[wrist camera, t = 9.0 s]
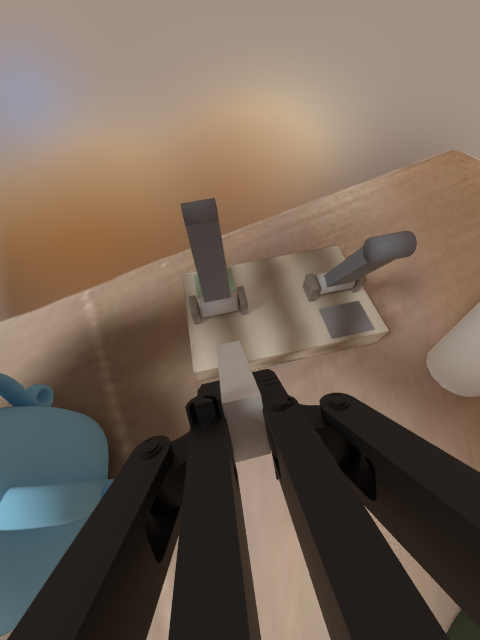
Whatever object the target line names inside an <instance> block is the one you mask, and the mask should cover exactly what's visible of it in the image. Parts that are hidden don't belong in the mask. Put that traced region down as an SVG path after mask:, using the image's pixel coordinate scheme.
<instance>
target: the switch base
mask: <svg viewBox="0 0 480 640" xmlns="http://www.w3.org/2000/svg"><path fill="white" fill-rule="evenodd" d="M344 260H345V257H344V255H343V254H342V252H341V250H340V249H339V247H338V246H332V247H327V248H322V249H316V250H311V251H305V252H300V253H294V254H289V255H284V256H278V257H273V258H267V259H262V260H256V261H251V262H246V263H240V264H235V265H229V266H226V269H227V275H228V281H229V288H230V291H233V290H234V293H235V297H236V302H237V308H238V311H234V312H229V313H224V314H218V315H213V316H208V317H203V315H202V311H201V306H200V300H199V297H202V296H203V295H202V290H201V286H200V282H199V278H198V274H197V272H191V273H186V274H182V276H183V284H184V293H185V302H186V311H187V320H188V328H189V337H190V346H191V355H192V364H193V372H194V374H195V376H196V377H197V379H198V381H202V380H207V379H211V378H216V377H219V369H218V359H217V349H216V345H221V344H225V343H230V342H235V341H240V344H241V346H242V349H243V351H244V354H245V356H246V359H247V361H248V364H249V366H250V369H251V370H253V369H257V368H262V367H266V366H271V365H276V364H280V363H285V362H290V361H294V360H299V359H303V358H308V357H313V356H317V355H322V354H326V353H331V352H336V351H340V350H345V349H350V348H354V347H359V346H363V345H368V344H373V343H377V342H378V341H379V340H380V339H381V338H382V337H383V336H384V335H385V334H386V333H387V332H388V331H389V330H388V328H387V327H386V325H385V323H384V322H383V320H382V318H381V317H380V315H379V313H378V312H377V310H376V308H375V307H374V305H373V303H372V302H371V300H370V298H369V297H368V295H367V293H366V292H365V290H364V288H363V287H362V286H363V284H364V282H365V281H366V277H365V276H363V277H361V278H359V279H357V280H355V285H354V287H353V288H350V289H345V290H340V291H334V292H329V293H324V294H318V292H319V290H320V287H319V285H318V283H317V281H316V279H315V277H314V276H315V275H316V274H321V273H327V272H329V271H331V270H332V269H333V268H335V267H336V266H337V265H339V264H340V263H341V262H343V261H344Z"/></svg>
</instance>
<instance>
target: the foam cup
mask: <svg viewBox="0 0 480 640" xmlns="http://www.w3.org/2000/svg"><path fill="white" fill-rule="evenodd" d="M426 364H427V367H428V369H429V372H430V374H431V376H432V377H433V378H434V379H435V380H436V381H437V382H438V383H439V385H440V386H441V387H443V388H445V389H447V390H448V391H450V392H452V393H453V394H455V395H460V396H465V397H478V396H480V302H478V303H477V304H476V305H475V306H474V307H473V308H472V309H471V310H470V311H469V312H468V313H467V314H466V315H465V316H464V317H463V318H462V319H461V320H460V321H459V322H458V323H457V324H456V325H455V326H454V327H453V328H452V329H451V330H450V331H449V332H448V333H447V334H446V335H444V336H443V337H442V338H441V339H440V340H439V341H438V342H437V343H436V344H435V345H434V346H433V347H432V348H431V350H430V351H429V352H428V353H427V359H426Z"/></svg>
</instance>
